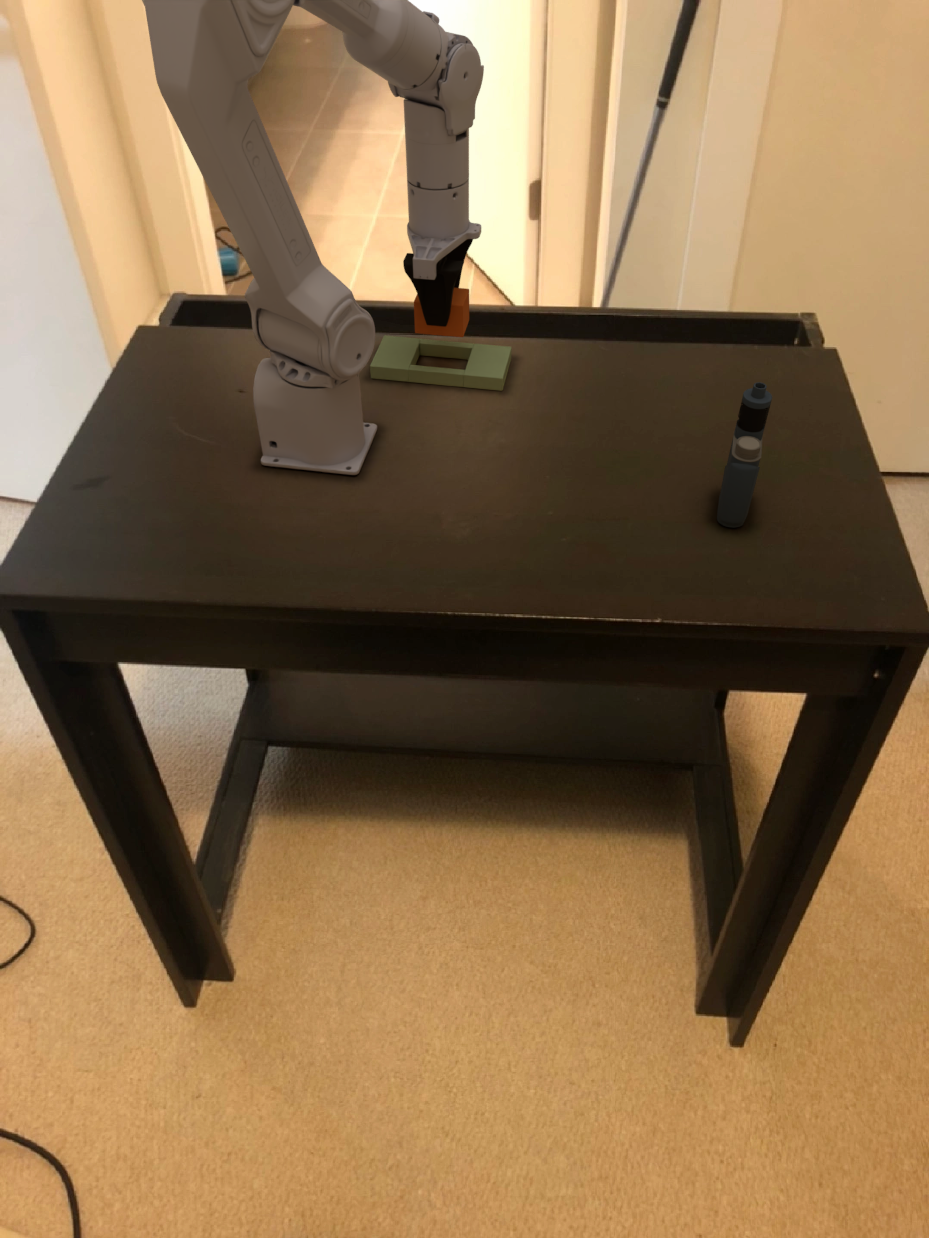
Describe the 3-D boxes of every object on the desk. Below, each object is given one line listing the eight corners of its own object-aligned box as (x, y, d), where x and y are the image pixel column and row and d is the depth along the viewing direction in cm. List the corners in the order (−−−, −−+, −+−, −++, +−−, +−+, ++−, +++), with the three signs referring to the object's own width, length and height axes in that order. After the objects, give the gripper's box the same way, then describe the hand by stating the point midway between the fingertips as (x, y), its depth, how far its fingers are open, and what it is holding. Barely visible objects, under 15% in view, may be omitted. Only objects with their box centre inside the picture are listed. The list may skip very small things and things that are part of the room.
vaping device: (747, 495, 89) (776, 379, 81) (744, 532, 86) (774, 414, 77) (718, 491, 90) (744, 375, 81) (714, 527, 86) (741, 410, 77)
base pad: (370, 378, 103) (369, 365, 102) (384, 347, 108) (383, 335, 106) (502, 391, 101) (502, 378, 100) (511, 359, 106) (511, 346, 105)
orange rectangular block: (414, 333, 100) (413, 301, 98) (422, 316, 103) (421, 284, 100) (463, 337, 99) (463, 305, 97) (469, 320, 102) (469, 288, 99)
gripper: (466, 214, 85) (467, 354, 94) (493, 151, 95) (491, 284, 104) (387, 208, 86) (395, 348, 95) (421, 146, 96) (426, 279, 105)
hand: (440, 314), depth 100 cm, fingers closed on orange rectangular block, 3 cm apart
